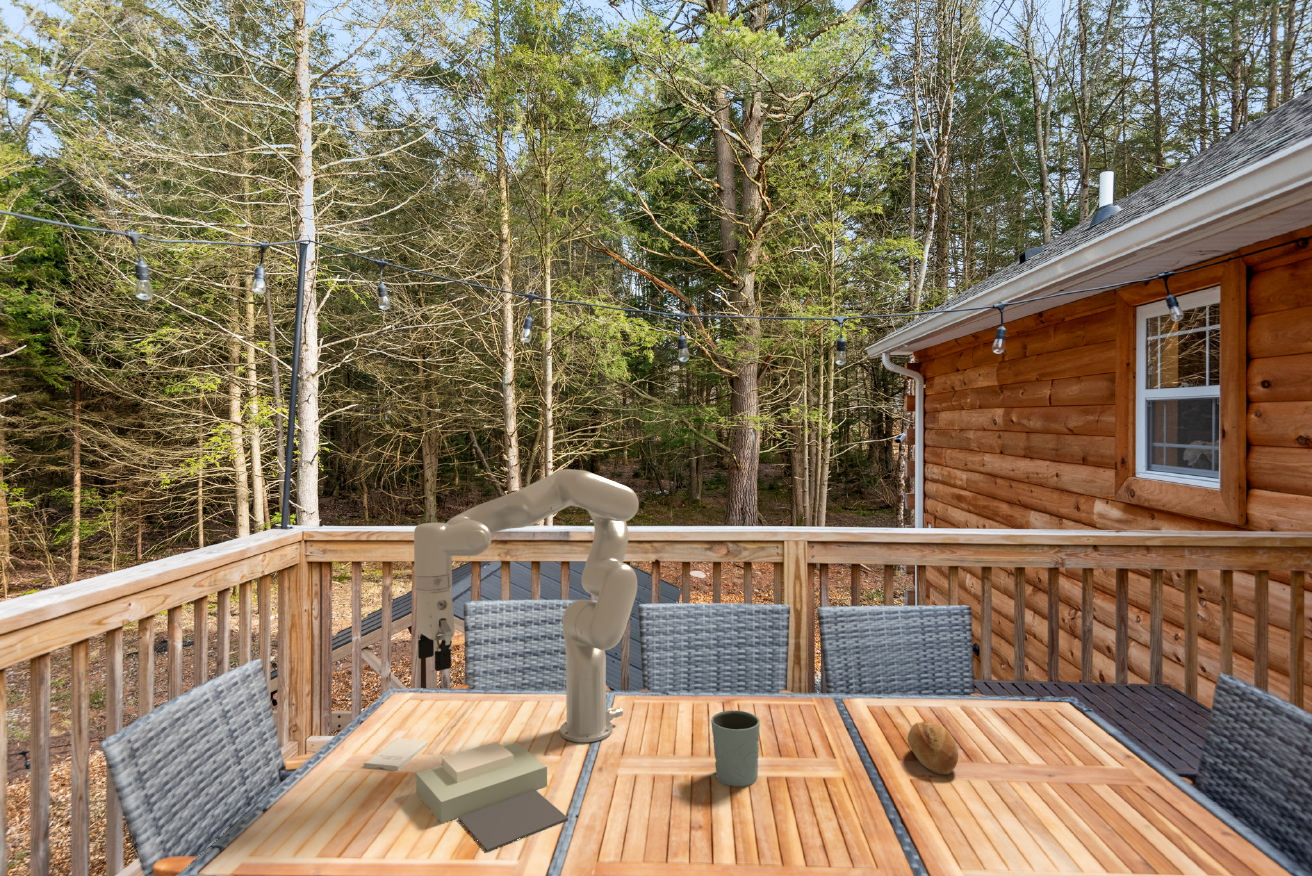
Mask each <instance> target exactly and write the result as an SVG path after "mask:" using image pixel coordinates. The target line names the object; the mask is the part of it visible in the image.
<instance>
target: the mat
mask: <svg viewBox="0 0 1312 876" xmlns="http://www.w3.org/2000/svg"><path fill="white" fill-rule="evenodd" d="M457 819H458V821H460V823H461V824H462V825H463V826H464V828H466V830H467V831H468V830H469V831H470V832H469V831H468V832H469V833H470V834H471V835H472V836H473V838H476V839H475V840H476V841H477V840H478V841H477V842H478V843H479V845H480V846H482V848H483V849H484V850H485V851H486V852H487V853H489V852H492V851H494V850H496V849H499V848H501V847H503V845H504V846H506V845H509V844H511V843H510V842H512V843H514V842H516V841H515V840H517V839H519V838H522V837H524V838H526V837H525V836H527V835H529V836H532V835H534V834H537V833H540V832H541V831H545V830H547V829H549V828H551V827H554V826H557V825H559V824H562V823H564V822H567V821H569V817H568V816H566V814H564V813H563V812H562V811H561V810H560V809H559V808H557V807H556V806H555V805H554V804H552V803H551V801H549V800H548V799H547V798H545V797H544V795H542V794H541V793H540V792H539V791H537V790H533V791H530V792H527V793H525V794H522V795H519V796H516V797H513V798H511V799H508V800H505V801H502V802H499V803H496V804H494V805H491V806H488V807H485V808H482V809H480V810H477V811H474V812H471V813H468V814H465V815H463V816H460V817H458V818H457ZM536 832H537V833H536ZM527 837H528V836H527ZM522 839H523V838H522ZM519 840H520V839H519ZM513 841H514V842H513ZM517 841H518V840H517ZM498 847H499V848H498Z"/></svg>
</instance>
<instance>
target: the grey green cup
mask: <svg viewBox="0 0 1312 876" xmlns="http://www.w3.org/2000/svg"><path fill="white" fill-rule="evenodd" d="M710 721H711V722H710V723H711V733H712V736H713V737H712V741H713V750H714V752H713V753H714V757H715V761H714V763H715V764H714V765H715V772H716V773H715V775H716V778H717V780H718V781H719V782H720V783H722V784H724V785H726V786H729V787H733V788H734V787H737V788H740V787H748V786H752V785H753V784H755V783H756V781H757V780H758V774H759V772H758V771H759V769H758V768H759V752H760V751H759V749H760V747H759V741H760V740H759V739H760V738H759V736H760V725H761V724H760V722H761V721H760V719H759V717H758V716H757V715H755V714H753V713H751V712H748V711H743V710H724V711H721V712H718V713H715V714H714V715H713V716H712V717H711V720H710Z"/></svg>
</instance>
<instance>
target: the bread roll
mask: <svg viewBox="0 0 1312 876" xmlns="http://www.w3.org/2000/svg"><path fill="white" fill-rule="evenodd" d="M907 743H908V746H909V747H910V749H911V751H912V753H913V754H914V756H915V757H916V758H917V760H918V761H919V763H921V764H922V765H923V767H925V768H926V769H928V770H930V771H931V772H933V773H937V774H939V775H949V774H951V773H952V772H953V771H954V769H955V768H956V767H957V764H958V761H959V750H958V747H957V743H956V741H955V740H954V738H953V736H952V734H951V733H950V731H948V729H947V728H946V727H945V726H943V725H941V724H938V723H935V722H929V721H928V722H926V721H921V722H915V723H913V724H912V725H911V727H910V729H909V732H908V735H907Z"/></svg>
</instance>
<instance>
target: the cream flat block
mask: <svg viewBox="0 0 1312 876" xmlns="http://www.w3.org/2000/svg"><path fill="white" fill-rule="evenodd" d="M503 746H504V745H502V744H501V743H500V742H498V741H494V742H490V743H487V744H484V745H481V746H477V747H473V748H471V749H467V750H463V751H460V752H457V753H454V754H453V753H452V754H450V755H446V756H443V757H442V759H441V765H442V768H443V769H444V770H445V771H446V772H447V773H448V774H449V775H450V776H451V777H452V778H453V779H454V780H455V781H456V782H457V783H458V782H462V781H465V780H468V779H471V778H474V777H477V776H480V775H483V774H486V773H489V772H492V771H496V770H499V769H502V768H505V767H508V766H511V765H514V755H513V754H512V753H511V752H509V751H508V750H507V749H506V748H504V747H503Z"/></svg>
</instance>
